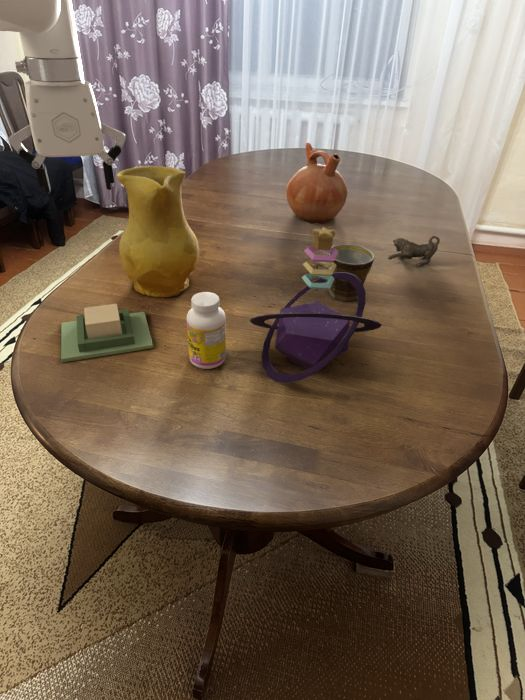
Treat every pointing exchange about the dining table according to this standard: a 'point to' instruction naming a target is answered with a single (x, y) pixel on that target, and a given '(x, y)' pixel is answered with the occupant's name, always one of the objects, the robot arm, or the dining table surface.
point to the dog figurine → (415, 250)
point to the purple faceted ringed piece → (314, 318)
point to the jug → (317, 188)
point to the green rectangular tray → (104, 338)
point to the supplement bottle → (206, 331)
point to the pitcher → (157, 232)
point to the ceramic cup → (350, 269)
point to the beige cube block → (102, 321)
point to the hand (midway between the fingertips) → (79, 189)
